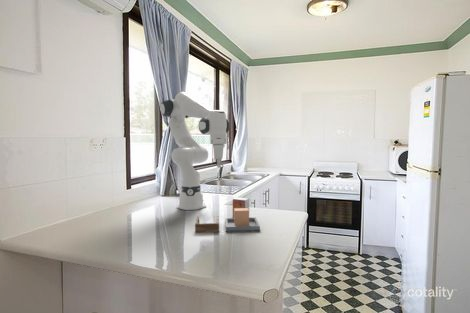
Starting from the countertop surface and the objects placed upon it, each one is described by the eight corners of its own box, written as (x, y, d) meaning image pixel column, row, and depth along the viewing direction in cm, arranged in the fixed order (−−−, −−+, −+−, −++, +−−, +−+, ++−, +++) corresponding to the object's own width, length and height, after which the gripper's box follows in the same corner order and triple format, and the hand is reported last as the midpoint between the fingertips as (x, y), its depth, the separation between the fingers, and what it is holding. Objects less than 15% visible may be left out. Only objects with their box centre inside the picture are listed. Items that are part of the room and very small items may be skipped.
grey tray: (225, 222, 152) (225, 218, 151) (255, 222, 152) (255, 217, 152) (226, 232, 137) (225, 226, 136) (259, 231, 137) (259, 226, 137)
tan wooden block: (234, 223, 147) (234, 208, 146) (248, 223, 147) (248, 208, 147) (234, 226, 142) (234, 210, 141) (249, 226, 142) (249, 210, 142)
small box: (232, 217, 162) (232, 198, 161) (237, 215, 167) (236, 197, 166) (245, 219, 158) (245, 200, 157) (249, 216, 163) (249, 198, 162)
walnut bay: (197, 224, 150) (197, 216, 150) (218, 223, 150) (218, 216, 150) (195, 232, 136) (195, 224, 136) (218, 232, 137) (218, 223, 137)
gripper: (213, 140, 164) (213, 164, 165) (212, 140, 144) (212, 168, 145) (224, 140, 165) (224, 164, 166) (224, 140, 144) (225, 168, 145)
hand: (218, 166), depth 155 cm, fingers open, 8 cm apart
